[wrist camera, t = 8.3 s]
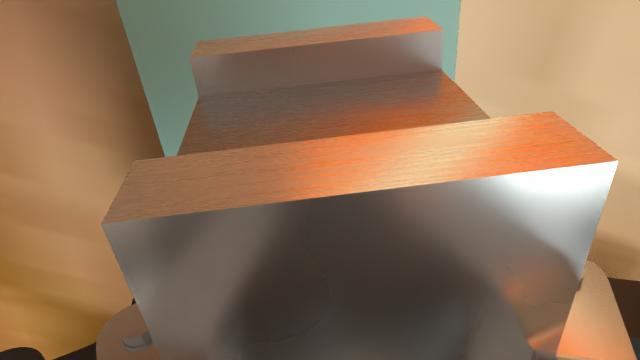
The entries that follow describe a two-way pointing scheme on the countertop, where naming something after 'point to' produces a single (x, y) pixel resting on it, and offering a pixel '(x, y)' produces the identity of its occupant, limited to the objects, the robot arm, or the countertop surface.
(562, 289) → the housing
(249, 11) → the stand
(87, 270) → the countertop surface
